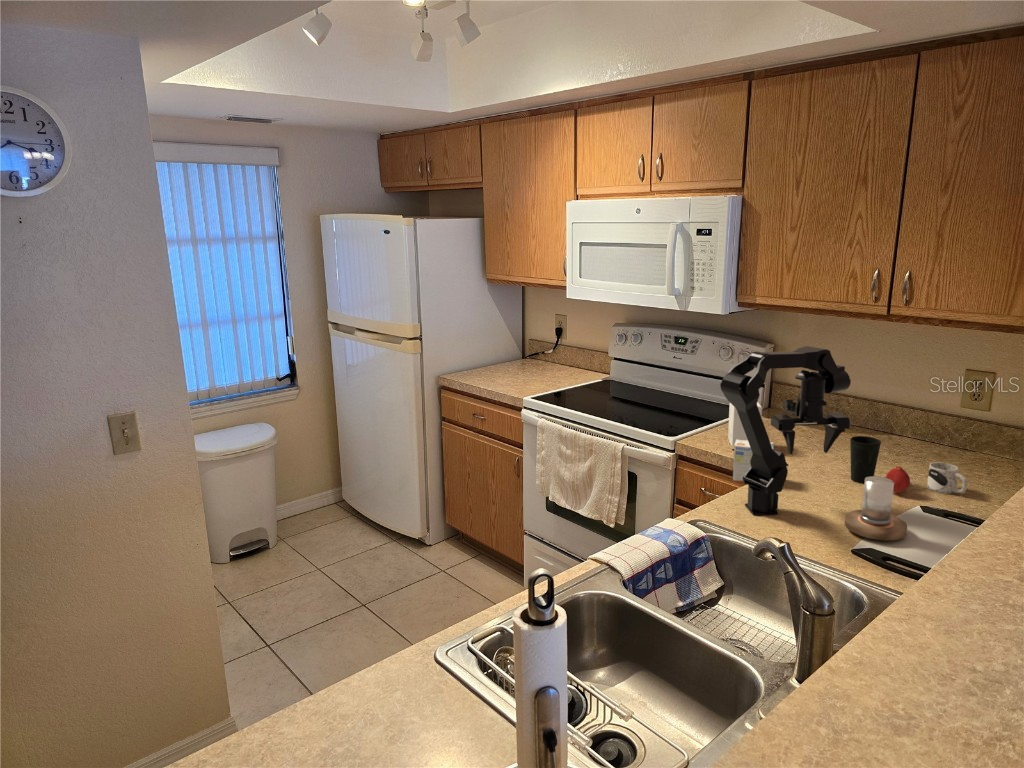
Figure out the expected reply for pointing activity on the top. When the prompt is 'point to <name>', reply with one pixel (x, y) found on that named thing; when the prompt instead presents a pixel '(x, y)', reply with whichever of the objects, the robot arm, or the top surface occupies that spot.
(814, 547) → the top surface
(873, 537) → the turntable
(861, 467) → the cup
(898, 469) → the onion
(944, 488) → the mug
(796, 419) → the robot arm
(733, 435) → the supplement box
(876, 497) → the canister
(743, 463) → the light bulb box
